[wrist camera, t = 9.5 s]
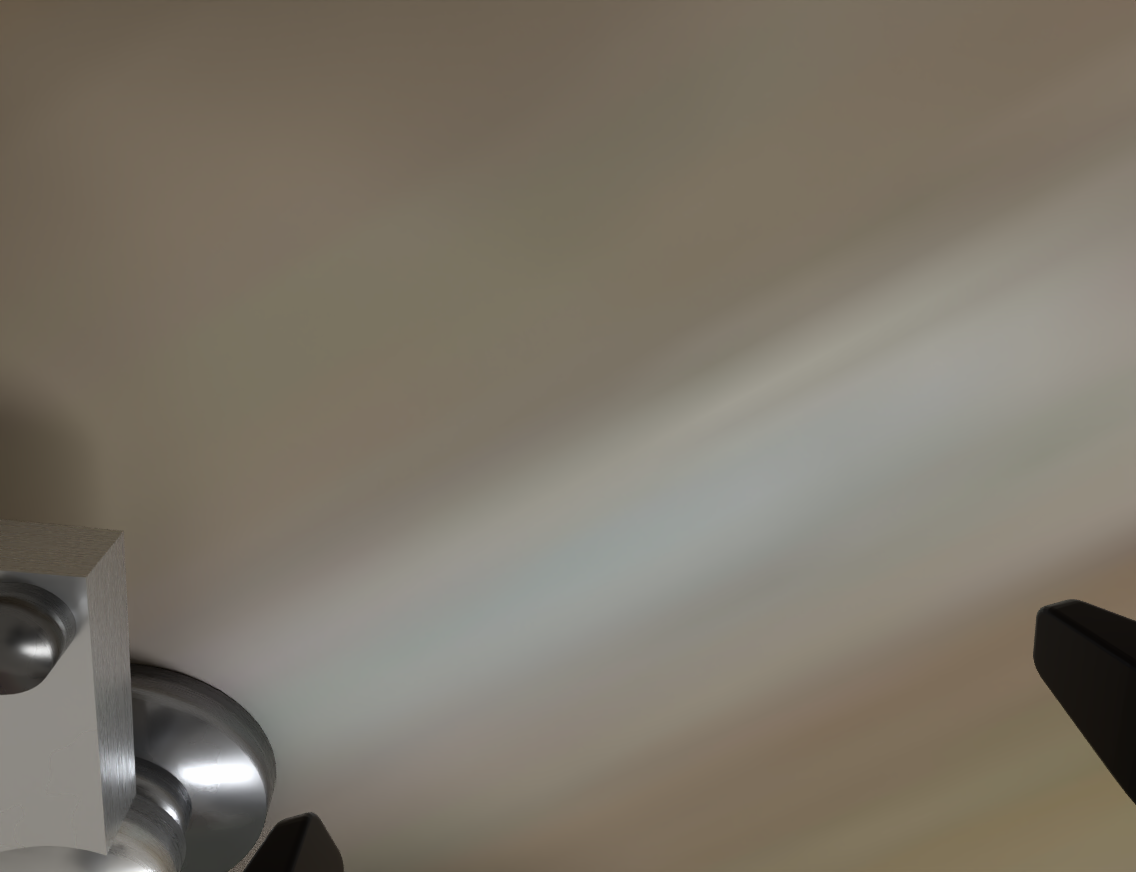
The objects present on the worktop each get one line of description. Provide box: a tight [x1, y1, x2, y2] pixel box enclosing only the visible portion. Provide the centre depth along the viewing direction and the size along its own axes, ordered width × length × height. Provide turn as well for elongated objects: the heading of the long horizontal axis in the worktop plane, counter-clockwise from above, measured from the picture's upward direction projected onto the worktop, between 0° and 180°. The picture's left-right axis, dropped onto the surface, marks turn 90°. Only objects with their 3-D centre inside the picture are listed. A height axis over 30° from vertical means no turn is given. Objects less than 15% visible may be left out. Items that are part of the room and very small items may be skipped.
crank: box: [0, 519, 186, 872], centre depth 13 cm, size 10×4×2 cm, turn 168°
